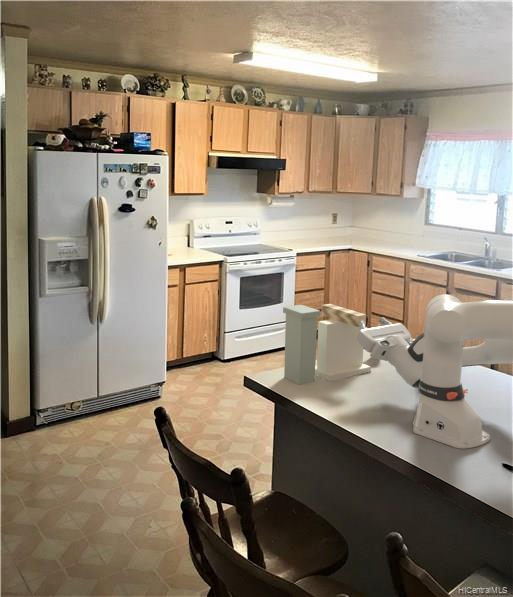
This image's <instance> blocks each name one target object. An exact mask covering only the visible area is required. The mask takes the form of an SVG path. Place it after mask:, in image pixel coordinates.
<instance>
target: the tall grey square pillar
mask: <svg viewBox="0 0 513 597" xmlns="http://www.w3.org/2000/svg"><path fill="white" fill-rule="evenodd" d="M282 310H283V311H282V312H283V313H284V314H285V330H284V332H285V335H284V337H285V338H284V339H285V340H284V367H283V368H284V372H283V373H284V375H283V376H284V377H283V378H284V379H286V380H289V381H290V382H293V383H294V384H297V385H303V384H309V383H312V382H315V381H316V375H315V365H316V364H317V337H318V317H319V318H320V317H321V310H319V309H316V308H312V307H311V306H310V307H309V306H308V305H304V304H296V305H289V306H283V307H282Z"/></svg>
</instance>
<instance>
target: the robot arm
mask: <svg viewBox="0 0 513 597" xmlns="http://www.w3.org/2000/svg"><path fill="white" fill-rule="evenodd" d="M425 308H426V309H425V319H424V332H422V333H420V334H419V335H418V336H417V337H416V338H413V337H412V335H411V333H410V332H409V330H408V329H407V327H406V326H405V325H404V323H403V324H402V323H401V322H400V323H399V322H398V323H397V322H396V323H393V322H391V321H389V320H388V319H386V317H380V318H379V319H378V322H379V324H380V327H378V326H376V327H375V326H374V327H370V328H368V327H367V326H365V325H367V322H366V323H365V322H364V321H360V322H359V323H358V325H359V326H360V327H361V330H360V331H359V332H358V334H357V341H358V342H359V343H360V345H361V346H362V347H363V350H365V351H366V352H368V353H370V354H369V356H370V358H371V359H372V358H373V360H380V361H385V362H388V363H389V364H390V365H391V366H393V368H395V370H396V372H397V374H398V375H399V376H400V377H401V379H403V380H404V381H405V383H406V384H407V385H408V386H411V387H413V388H415V389H418V392H419V398H418V403H417V408H416V413H415V415H414V419H413V420H412V426H413V431H412V432H413V433H414V434H417V435H420V436H423V437H424V438H427V439H430V440H431V439H432V441H433V440H434V441H436V442H439V443H441V444H445V445H448V446H450V447H453V448H456V449H471V448H477V447H480V446H482V445H485V444H486V443H488V442H489V441H490V438H491V436H490V434H489V433H488V432H486V431H484V430H483V422H482V417H481V415H480V414H479V413H478V412H477V411H476V410H475V408H474V407H473V406H472V405H471V404H470V403H469V401H468V400H467V399H466V398H465V394H467V393H469V392H468V390H469V389H468V388H466V389H464V388H463V385H462V382H461V379H462V368H463V367H475V366H487V365H496V364H498V365H499V364H505V365H506V364H507V365H508V364H513V300H503V299H499V300H498V299H487V300H482V301H481V300H479V301H471V302H470V301H469V302H462V301H461V300H460V299H459V298H458V297H456V296H454V295H452V294H446V293H445V294H439V295H436V296H434V297H433V298H431V299H430V301H429V302H428V303H427V305H426V307H425ZM413 339H415V340H413ZM477 340H484V341H483V342H481V343H480V344H478V345H473V346H465V347H463V346H464V342H469V341H477Z"/></svg>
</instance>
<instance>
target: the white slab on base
mask: <svg viewBox="0 0 513 597" xmlns="http://www.w3.org/2000/svg"><path fill="white" fill-rule="evenodd" d="M360 330H361V327H356V326H353V325H350V324H347V323H344V322H341V321H338V320H335V319H331V318H330V319H324V320H320V321H318V320H317V347H316V364H315V376H317V377H320V378H321V379H323V380H326V381H328V382H332V381H335V380H340V379H345V378H350V377H353V376H358V374H359V375H363V374H367V373H366V372H368V373H371V371H372V367H371V366H369V365H367V364H365V363H364V362H363V361H364V348H363V347H362V346H361V345H360V343H359V342H358V341H357V334H358V332H359V331H360ZM362 373H363V374H362Z"/></svg>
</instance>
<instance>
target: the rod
mask: <svg viewBox="0 0 513 597" xmlns="http://www.w3.org/2000/svg"><path fill="white" fill-rule="evenodd" d="M320 316H323V317H326V318H330V320H331V319H335V320H338V321H341V322H344V323H347V324H350V325H353V326H356V327H360V326H359V325H358V323H359V322H360V321H364V322H365V323H366V325H367V314H366V313H362V312H358V311H355V310H352V309H349V308H345V307H343V306H342V307H341V306H338V305H336V304H333V303H326V304H322V305H321V313H320ZM366 325H365V327H367V326H366Z"/></svg>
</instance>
